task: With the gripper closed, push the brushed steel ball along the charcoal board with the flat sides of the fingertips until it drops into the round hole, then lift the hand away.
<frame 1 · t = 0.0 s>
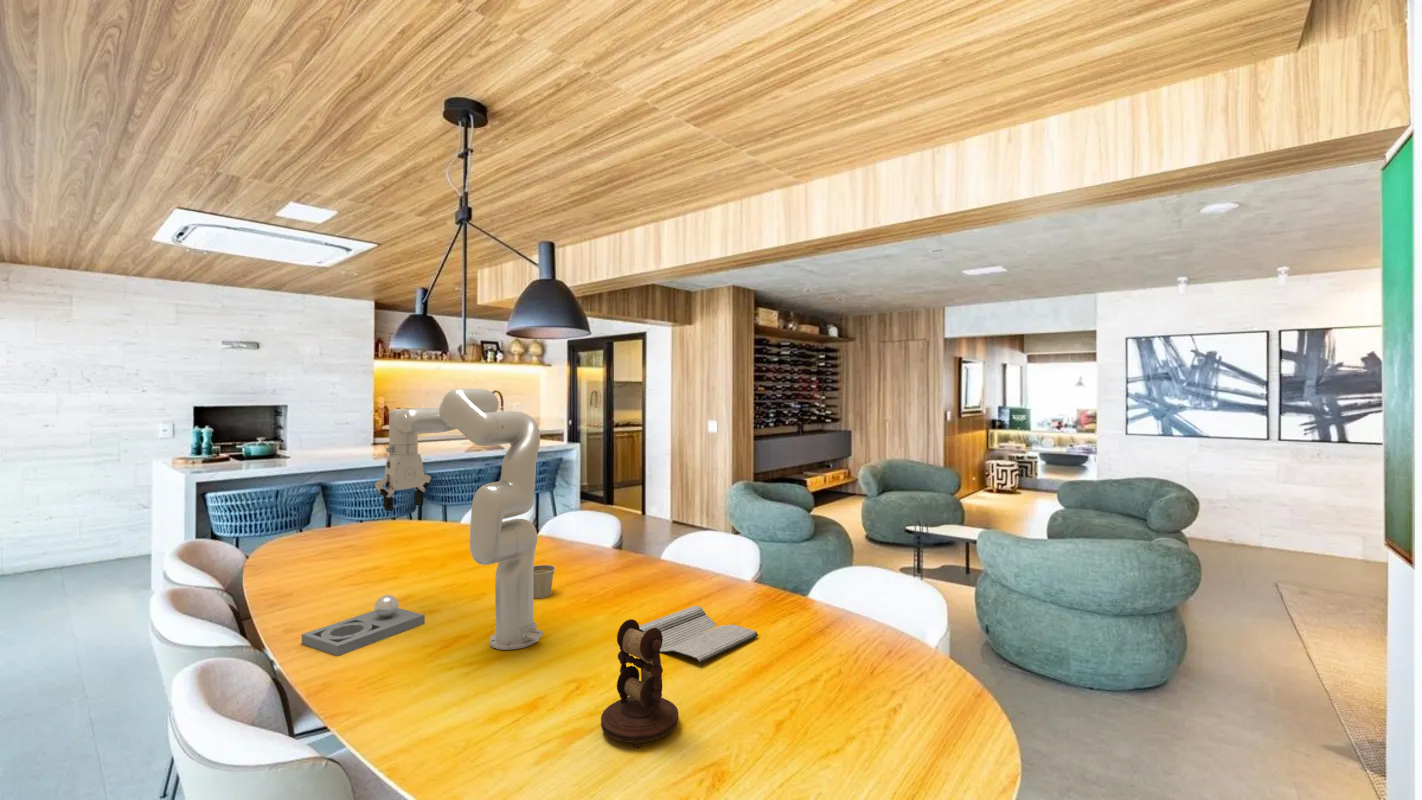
hand: (404, 507, 178), 31 cm above the table, tool pointing down, fingers open, 9 cm apart
mat: (695, 642, 156), on the table
flower pot: (540, 596, 192), on the table
hole board: (365, 633, 162), on the table
thread spool stand: (640, 729, 115), on the table
steel ball: (386, 606, 167), point 5 cm above the table, touching hole board
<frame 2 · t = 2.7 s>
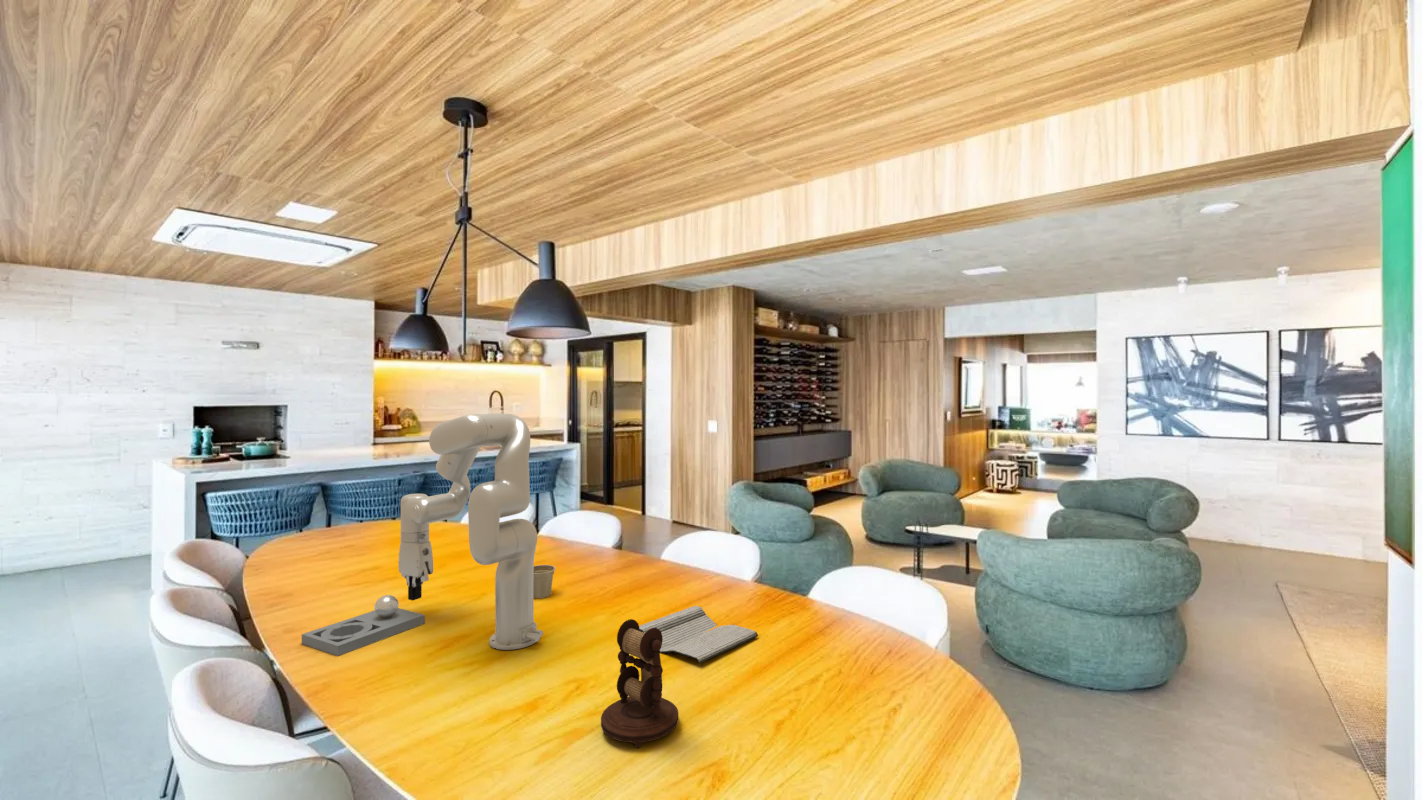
hand: (414, 598, 176), 5 cm above the table, tool pointing down, fingers closed
nothing on the table moved.
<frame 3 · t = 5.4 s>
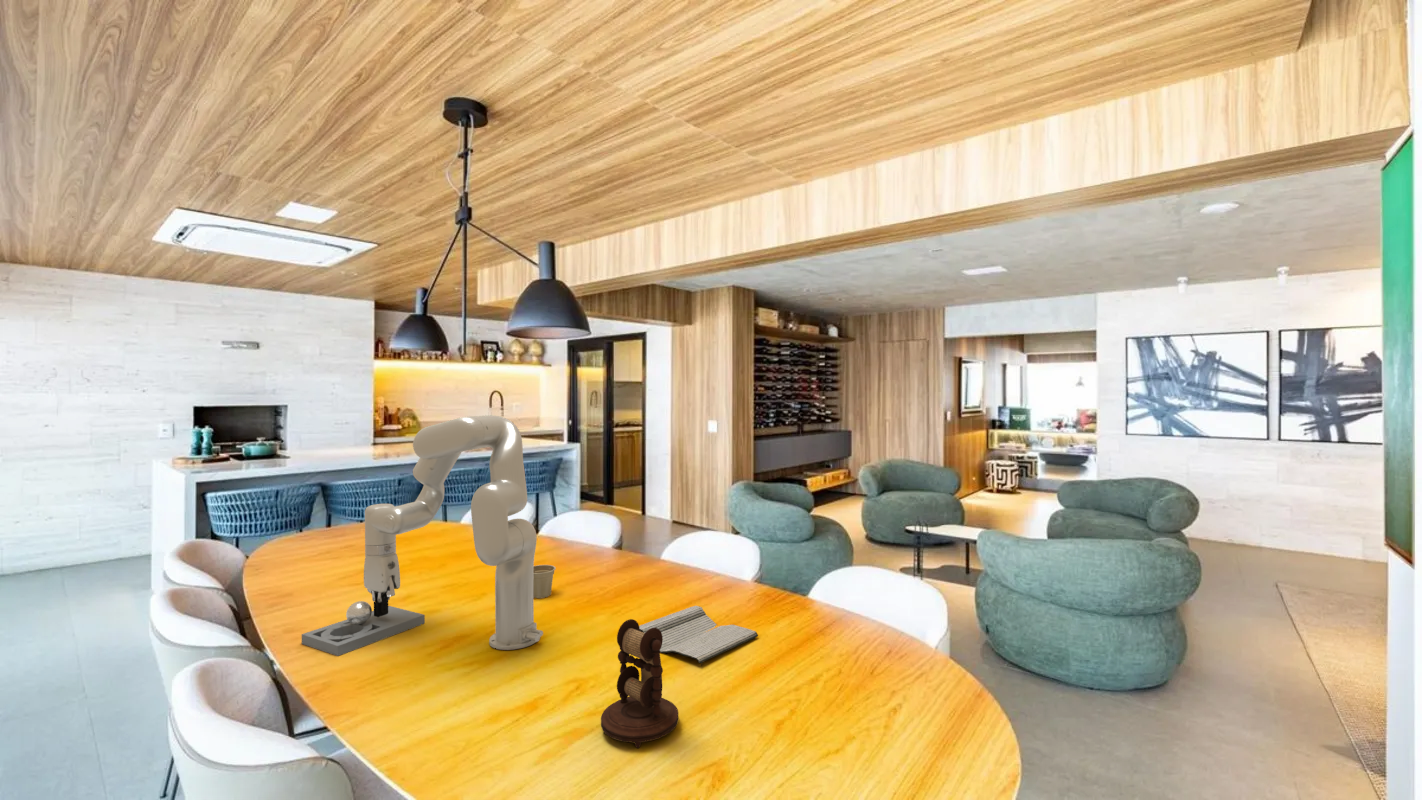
hand: (381, 614, 166), 4 cm above the table, tool pointing down, fingers closed
steel ball: (359, 612, 162), point 5 cm above the table, tilted 132°, touching hole board
everything else where it was.
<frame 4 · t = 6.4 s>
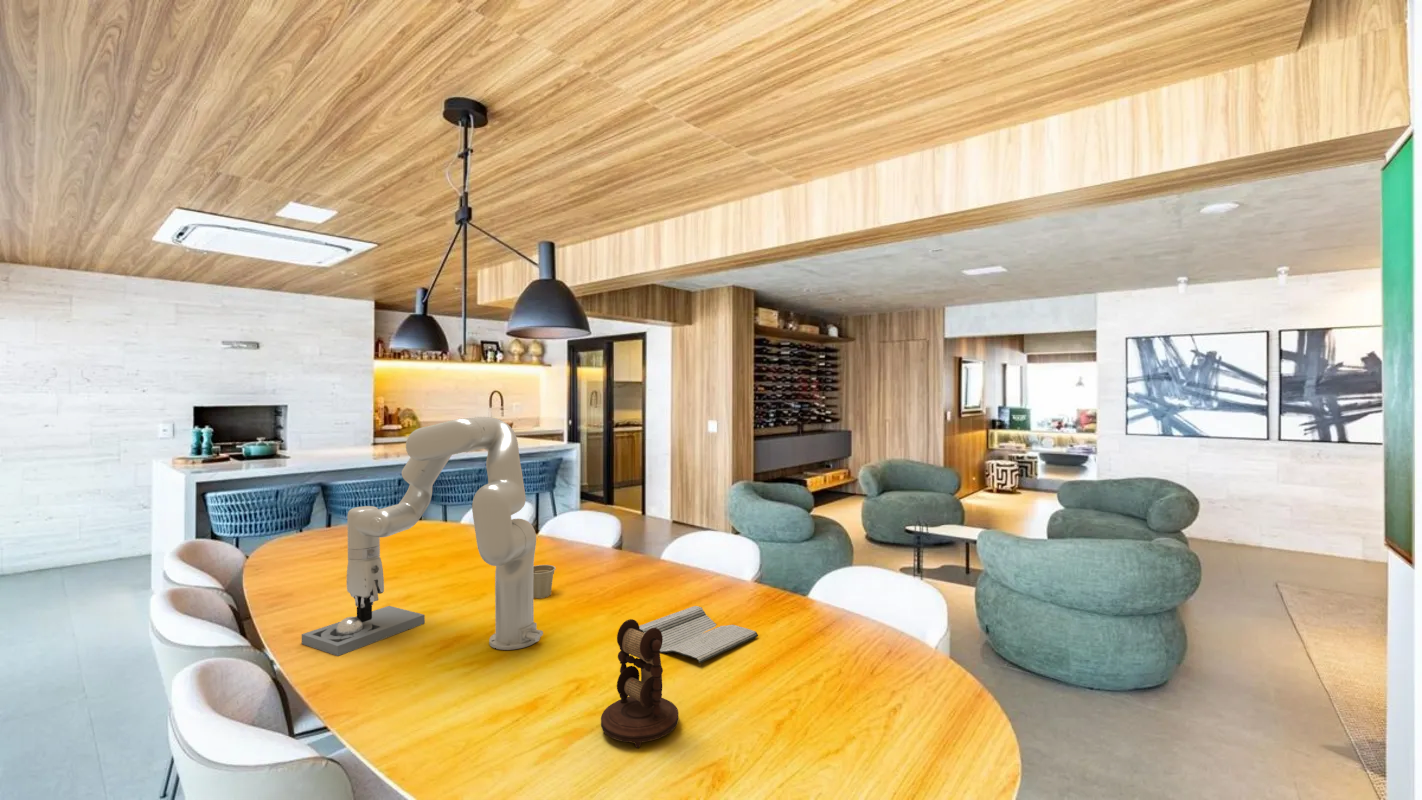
hand: (364, 620, 162), 4 cm above the table, tool pointing down, fingers closed
steel ball: (349, 628, 158), point 3 cm above the table, tilted 95°, touching gripper
everything else where it was.
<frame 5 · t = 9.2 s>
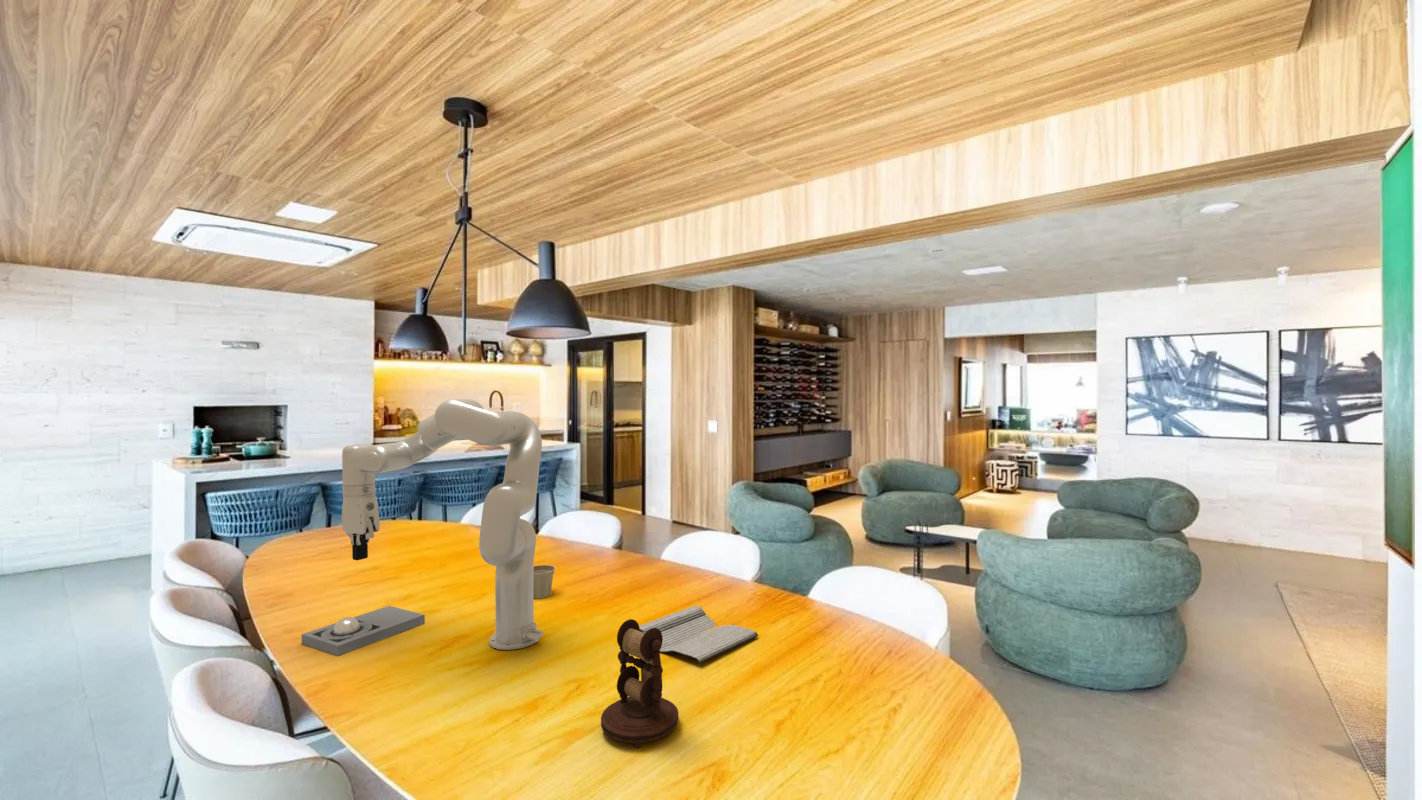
hand: (360, 558, 161), 21 cm above the table, tool pointing down, fingers closed
steel ball: (346, 629, 157), point 3 cm above the table, tilted 89°
everything else where it was.
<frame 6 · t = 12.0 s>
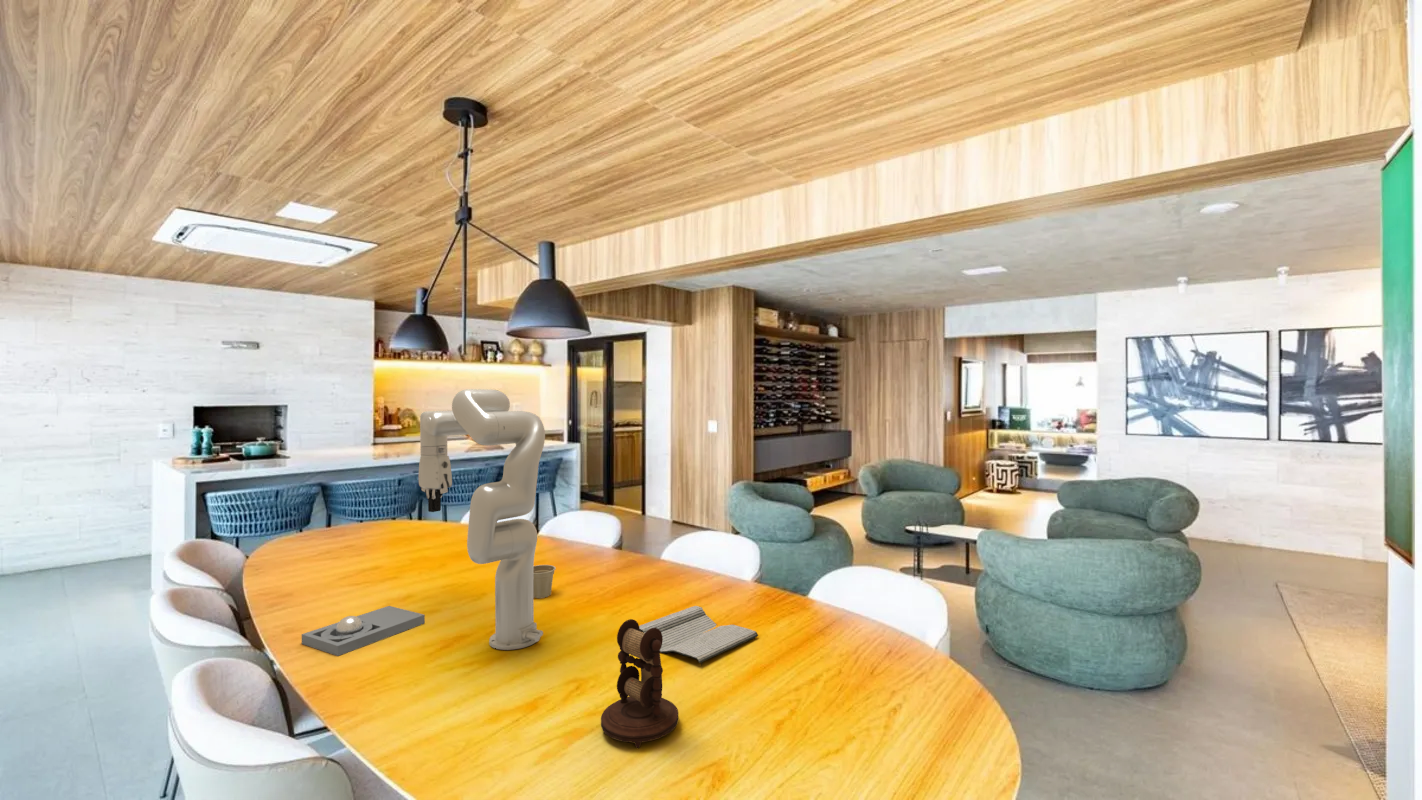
hand: (434, 511, 183), 29 cm above the table, tool pointing down, fingers closed
steel ball: (349, 627, 158), point 3 cm above the table, tilted 105°
everything else where it was.
at the end: steel ball 0.6 cm from the target spot on the hole board, point 3.0 cm above the hole board's base; the gripper is holding nothing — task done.
